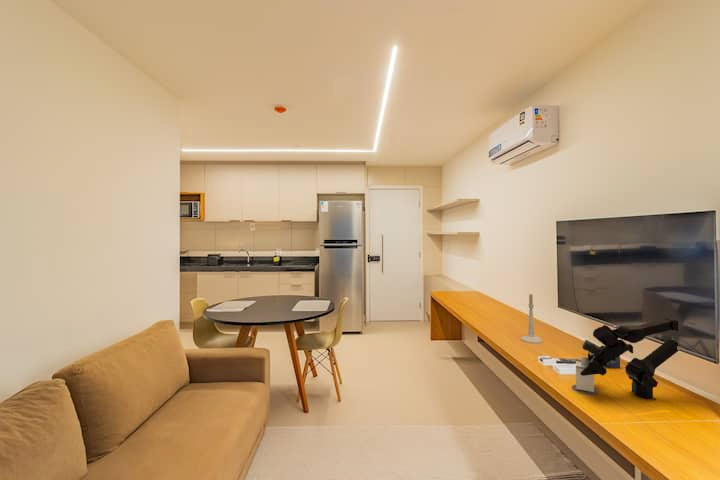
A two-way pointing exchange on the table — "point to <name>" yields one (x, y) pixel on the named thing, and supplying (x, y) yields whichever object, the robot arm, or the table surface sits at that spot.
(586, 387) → the rubber stamp
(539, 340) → the candlestick
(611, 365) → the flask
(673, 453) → the table surface
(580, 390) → the gray disc
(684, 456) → the table surface
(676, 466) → the table surface
